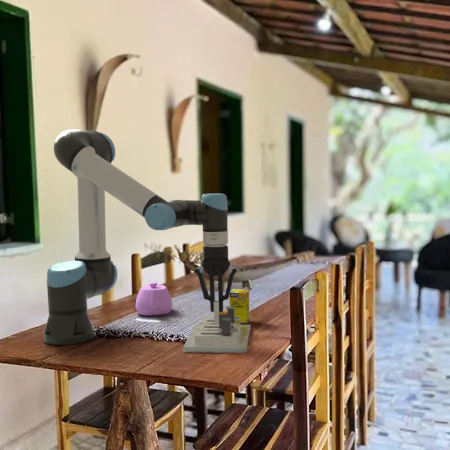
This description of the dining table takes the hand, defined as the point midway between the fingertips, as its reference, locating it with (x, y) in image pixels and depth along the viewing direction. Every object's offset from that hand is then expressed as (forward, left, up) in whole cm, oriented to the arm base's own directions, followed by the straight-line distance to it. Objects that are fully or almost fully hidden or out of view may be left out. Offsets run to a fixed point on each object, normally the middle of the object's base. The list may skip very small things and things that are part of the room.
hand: (217, 322), depth 174 cm
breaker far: (+3, +7, -1) cm, 8 cm away
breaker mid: (+2, 0, -1) cm, 2 cm away
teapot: (-27, +32, -6) cm, 42 cm away
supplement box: (+5, +20, -6) cm, 22 cm away
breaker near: (+3, -7, -1) cm, 8 cm away
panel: (0, 0, -6) cm, 6 cm away
